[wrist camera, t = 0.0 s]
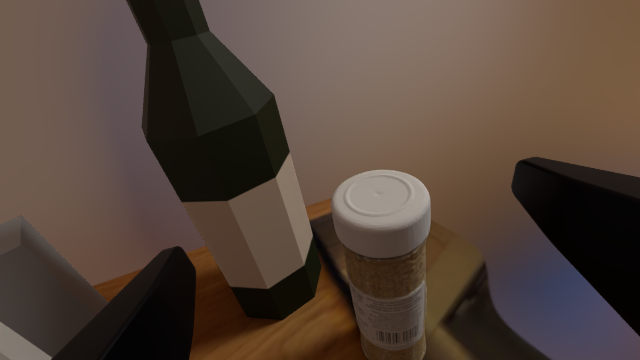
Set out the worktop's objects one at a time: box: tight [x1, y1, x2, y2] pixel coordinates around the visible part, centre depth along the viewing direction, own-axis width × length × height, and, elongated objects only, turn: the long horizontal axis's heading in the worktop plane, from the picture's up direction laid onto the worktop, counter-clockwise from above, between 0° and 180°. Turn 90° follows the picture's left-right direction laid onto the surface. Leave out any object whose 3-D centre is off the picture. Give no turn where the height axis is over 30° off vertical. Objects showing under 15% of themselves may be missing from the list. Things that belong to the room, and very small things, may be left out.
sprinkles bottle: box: [331, 170, 430, 360], centre depth 17 cm, size 5×5×14 cm
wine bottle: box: [126, 0, 321, 320], centre depth 19 cm, size 8×8×30 cm
